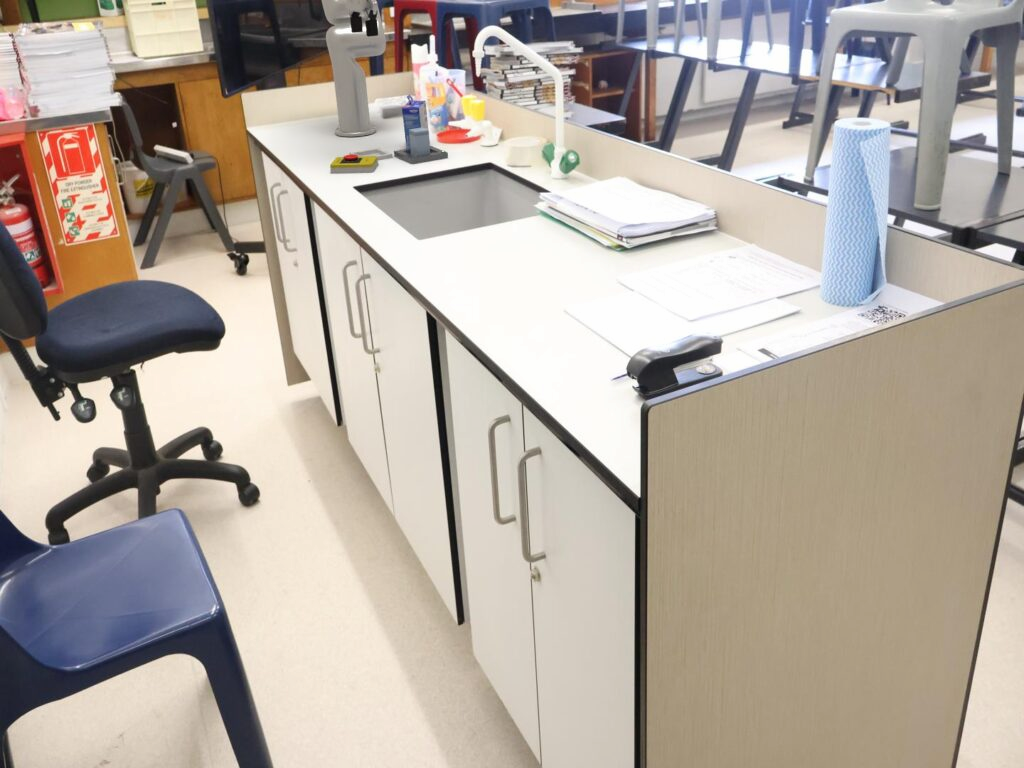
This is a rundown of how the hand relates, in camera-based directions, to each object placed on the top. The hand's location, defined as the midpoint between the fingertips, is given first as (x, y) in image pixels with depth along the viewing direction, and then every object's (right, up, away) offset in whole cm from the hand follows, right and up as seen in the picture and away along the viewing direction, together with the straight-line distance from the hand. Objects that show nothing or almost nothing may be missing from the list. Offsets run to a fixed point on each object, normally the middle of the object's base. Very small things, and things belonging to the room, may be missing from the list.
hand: (364, 34), depth 244 cm
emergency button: (-2, -38, -2) cm, 38 cm away
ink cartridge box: (+12, -25, +20) cm, 35 cm away
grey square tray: (0, -32, +8) cm, 33 cm away
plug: (+14, -32, +7) cm, 36 cm away
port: (+14, -32, +7) cm, 36 cm away
